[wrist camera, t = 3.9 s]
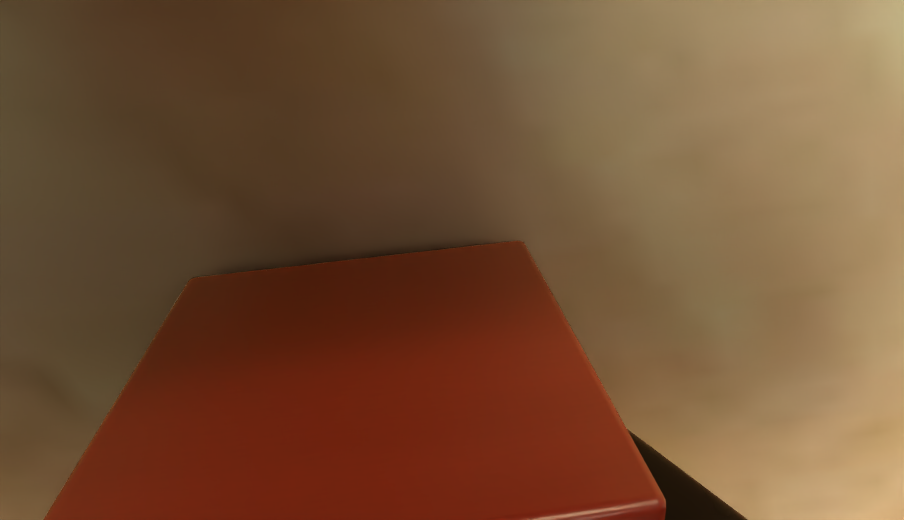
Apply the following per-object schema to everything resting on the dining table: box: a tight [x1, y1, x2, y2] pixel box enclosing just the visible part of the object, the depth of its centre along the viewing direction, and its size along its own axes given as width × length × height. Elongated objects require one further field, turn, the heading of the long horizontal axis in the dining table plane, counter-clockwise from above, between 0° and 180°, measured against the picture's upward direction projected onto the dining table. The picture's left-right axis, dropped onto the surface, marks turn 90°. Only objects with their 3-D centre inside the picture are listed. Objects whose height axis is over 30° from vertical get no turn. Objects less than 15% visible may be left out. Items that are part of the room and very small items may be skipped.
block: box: [44, 241, 666, 520], centre depth 7 cm, size 4×4×4 cm
